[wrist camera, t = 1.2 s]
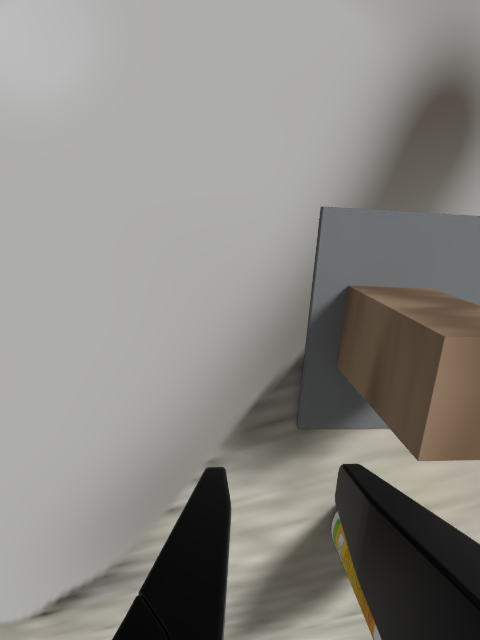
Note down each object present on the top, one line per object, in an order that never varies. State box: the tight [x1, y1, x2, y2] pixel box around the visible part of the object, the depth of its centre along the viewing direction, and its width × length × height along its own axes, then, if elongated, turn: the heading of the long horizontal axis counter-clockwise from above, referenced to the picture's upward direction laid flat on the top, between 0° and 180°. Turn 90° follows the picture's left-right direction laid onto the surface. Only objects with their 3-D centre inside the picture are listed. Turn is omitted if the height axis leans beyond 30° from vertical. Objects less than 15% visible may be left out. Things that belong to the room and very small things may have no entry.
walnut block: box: [337, 286, 480, 461], centre depth 17 cm, size 4×4×8 cm
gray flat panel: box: [297, 207, 480, 429], centre depth 21 cm, size 14×12×1 cm
